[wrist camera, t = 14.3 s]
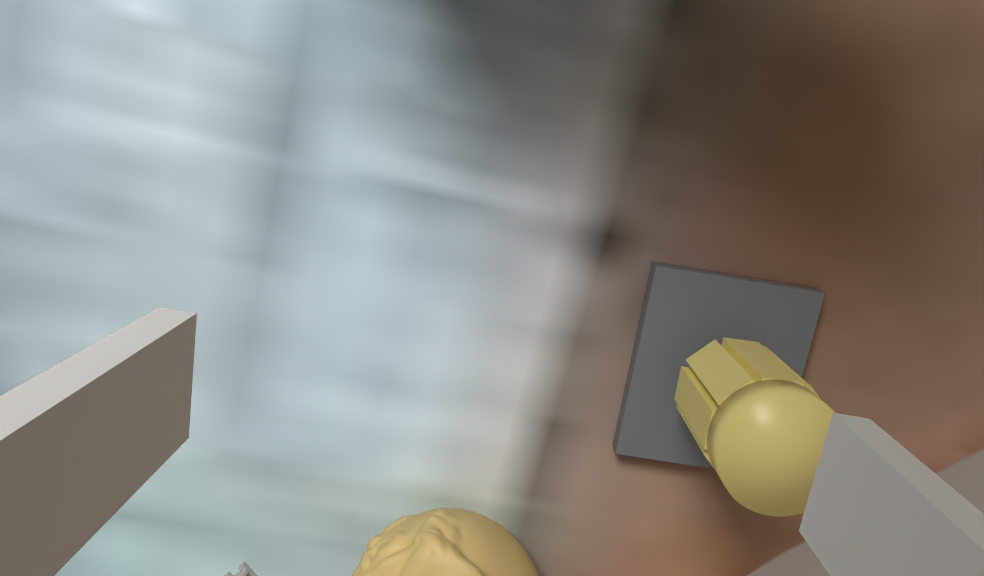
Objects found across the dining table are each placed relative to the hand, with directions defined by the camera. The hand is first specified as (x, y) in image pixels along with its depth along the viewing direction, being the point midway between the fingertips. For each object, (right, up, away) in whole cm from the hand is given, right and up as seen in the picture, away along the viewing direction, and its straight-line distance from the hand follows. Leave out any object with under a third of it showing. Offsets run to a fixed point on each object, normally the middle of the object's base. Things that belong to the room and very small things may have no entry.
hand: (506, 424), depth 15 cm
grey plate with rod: (+13, -2, +30) cm, 33 cm away
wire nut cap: (+13, -3, +26) cm, 30 cm away
